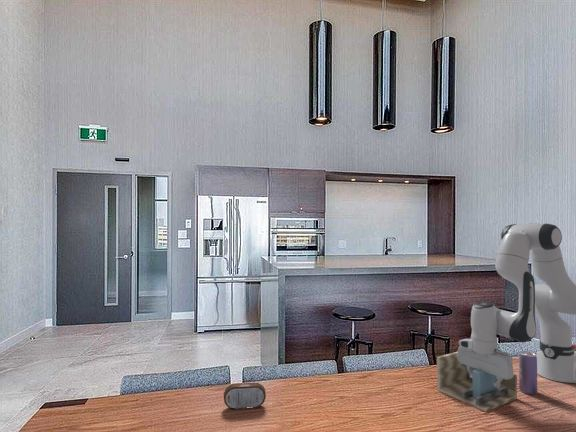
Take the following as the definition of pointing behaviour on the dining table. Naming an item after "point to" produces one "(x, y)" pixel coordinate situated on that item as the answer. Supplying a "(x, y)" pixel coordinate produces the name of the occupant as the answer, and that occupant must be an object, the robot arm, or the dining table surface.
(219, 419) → the dining table surface
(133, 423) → the dining table surface
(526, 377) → the beverage can
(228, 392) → the tin
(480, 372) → the light blue flat block
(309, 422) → the dining table surface
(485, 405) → the rack
